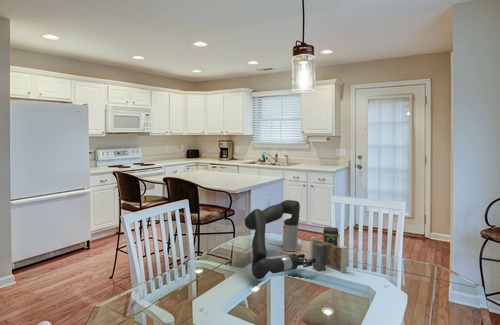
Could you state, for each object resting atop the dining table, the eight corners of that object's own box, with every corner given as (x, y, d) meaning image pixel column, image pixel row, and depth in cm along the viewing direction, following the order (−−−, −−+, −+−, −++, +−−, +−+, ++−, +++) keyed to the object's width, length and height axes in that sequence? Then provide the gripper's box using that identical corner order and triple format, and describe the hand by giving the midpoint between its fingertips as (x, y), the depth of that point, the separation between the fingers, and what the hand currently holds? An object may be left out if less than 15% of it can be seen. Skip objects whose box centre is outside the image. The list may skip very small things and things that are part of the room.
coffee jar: (338, 255, 213) (339, 226, 212) (337, 259, 205) (338, 229, 204) (322, 253, 215) (323, 225, 215) (321, 257, 208) (322, 228, 207)
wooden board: (309, 260, 202) (310, 237, 201) (313, 259, 203) (314, 236, 203) (342, 273, 181) (343, 247, 180) (346, 272, 183) (347, 247, 182)
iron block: (312, 268, 187) (313, 244, 187) (319, 267, 190) (319, 242, 189) (319, 271, 183) (320, 246, 183) (325, 269, 186) (326, 245, 185)
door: (313, 259, 200) (314, 239, 200) (315, 259, 201) (315, 239, 201) (341, 270, 183) (341, 248, 182) (342, 270, 184) (343, 248, 183)
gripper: (278, 266, 178) (300, 261, 187) (295, 274, 167) (319, 268, 176) (278, 252, 178) (301, 247, 187) (296, 260, 166) (319, 254, 175)
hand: (309, 258), depth 181 cm, fingers open, 8 cm apart
